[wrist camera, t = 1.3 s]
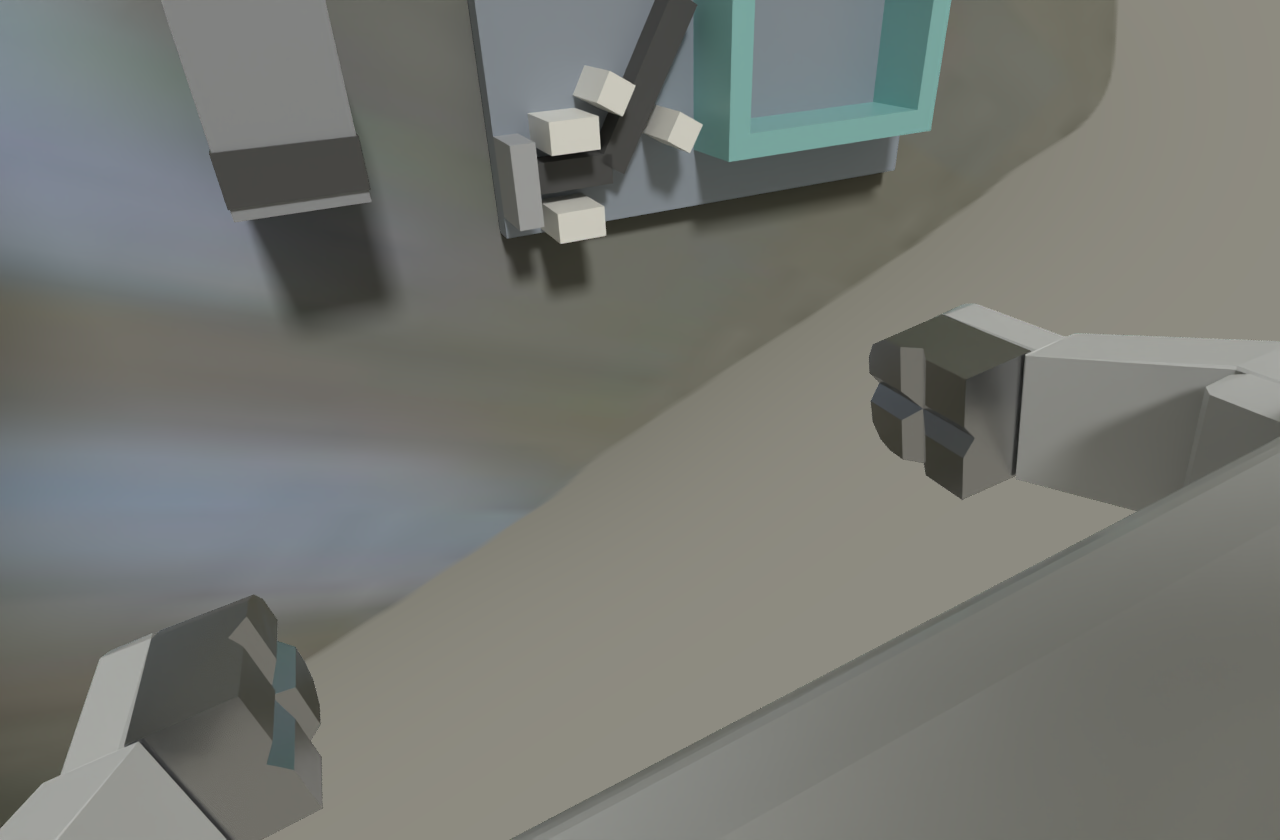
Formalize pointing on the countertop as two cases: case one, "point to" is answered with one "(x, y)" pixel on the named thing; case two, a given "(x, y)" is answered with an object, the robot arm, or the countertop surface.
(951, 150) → the countertop surface
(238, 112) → the block
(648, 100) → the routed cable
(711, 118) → the end holder
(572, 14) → the board
